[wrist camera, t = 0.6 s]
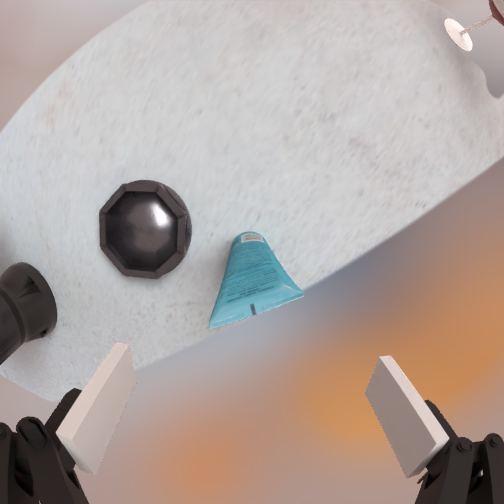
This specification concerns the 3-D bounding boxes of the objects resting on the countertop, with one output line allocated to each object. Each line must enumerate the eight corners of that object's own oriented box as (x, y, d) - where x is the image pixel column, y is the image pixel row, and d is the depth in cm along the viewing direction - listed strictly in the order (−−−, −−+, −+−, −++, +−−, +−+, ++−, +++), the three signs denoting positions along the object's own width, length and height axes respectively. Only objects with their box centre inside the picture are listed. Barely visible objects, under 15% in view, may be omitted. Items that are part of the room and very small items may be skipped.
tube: (234, 274, 39) (224, 353, 20) (218, 244, 38) (193, 304, 19) (282, 252, 38) (313, 316, 20) (267, 220, 37) (288, 260, 19)
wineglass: (443, 36, 28) (514, -1, 7) (443, 9, 26) (502, -28, 5) (473, 60, 29) (544, 37, 8) (472, 33, 27) (533, 6, 6)
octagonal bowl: (105, 271, 38) (99, 275, 36) (104, 180, 35) (97, 180, 33) (190, 280, 39) (187, 285, 37) (194, 181, 36) (191, 181, 34)
